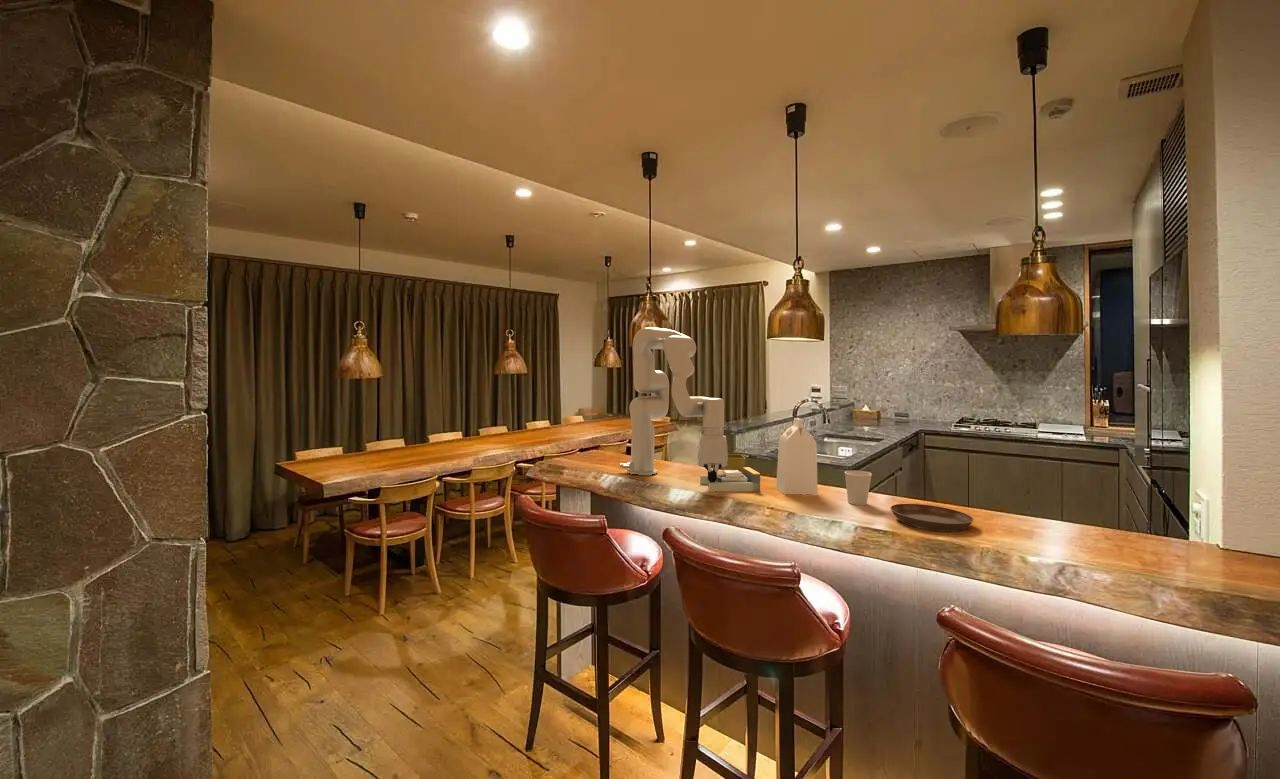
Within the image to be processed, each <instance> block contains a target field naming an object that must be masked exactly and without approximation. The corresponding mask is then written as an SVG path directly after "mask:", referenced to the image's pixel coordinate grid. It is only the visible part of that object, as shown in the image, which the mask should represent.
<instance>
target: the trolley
mask: <svg viewBox="0 0 1280 779" xmlns="http://www.w3.org/2000/svg"><path fill="white" fill-rule="evenodd" d="M715 481H716V482H747V477H746V476H744V475H743V474H742V473H741V472H740V471H738V470H722V473H717V480H715Z"/></svg>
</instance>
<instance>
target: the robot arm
mask: <svg viewBox="0 0 1280 779" xmlns="http://www.w3.org/2000/svg"><path fill="white" fill-rule="evenodd" d="M652 349H654V350H656V349H657V350H663V353H664V355H665V357H666V360H667V362H668V365H669V368H670V370H671V373H672V375H673V379H672V382H671V398H672V401H673V403H674V406H675V408H676V410H677V412H678V414H680V416H682V417H685V418H694V417H695V418H697V417H698V418H699V417H701V418H702V428H698V432H699V433H700V434H701V433H702V434H701V435H700V437H699V438H700V439H699V445H698V455H697V458H698V462H697V466H699V467H702V468H704V469H705V470H706V471H707V476H708V480H709V482H710V483H715V480H717V474H718V472H719V470H720V469H722V467H725V466H727V461H728V454H729V452H728V440H727V436H726V435H724V431H725V430H724V429H725V428H724V427H725V401H724V399H723V398H721V397H720V398H719V397H707V396H690V394H689V392H688V388H687V383H686V382H687V379H688V378H689V377H691V376H692V375H693V374H694V373H695V371H696V370H695V366H694V364H693V362H692V359H691V358H692V357H694V355H695V354H696V351H697V345H696V342H695V340H694V339H693V338H692V337H690V336H688V335H685V334H683V333H680V332H678V331H676V330H672V329H669V328H661V327H651V326H648V327H642V328H640V329H639V330H638V331H636V333H635V335H634V337H633V340H632V350H633V387H634V390H635V391H636V392H638V393H641V394H650V395H647V396H646V395H645V396H643V395H642V396H641V395H640V396H637V397H635V398H634V399H632V400H631V401H630V404H629V414H630V422H631V440H630V442H631V443H630V444H631V445H630V447H631V448H630V451H631V452H630V454H631V455H630V460H629V462H627V463H623V462H620V463H619V468H620V469H627V470H626V472H628V473H627V474H629V473H630V474H629V475H632V474H638V475H637V476H653V475H652V474H655V475H657V474H658V469H656V468H655V433H656V432H655V427H654V423H653V420H657V419H663V418H665V417H666V415H667V414H668V411H669V405H670V381H669V377H668V376H667V374H666V373H665V372H664V371H662V370H659V369H658V370H656V369H655V368H656V366H655V365H656V361H655V356H654V353H653V351H652ZM712 465H713V467H712ZM656 473H657V474H656Z"/></svg>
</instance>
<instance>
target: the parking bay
mask: <svg viewBox="0 0 1280 779" xmlns="http://www.w3.org/2000/svg"><path fill="white" fill-rule="evenodd" d="M743 475H744V476H746V477H747V482H716V481H715V483H710V482H709V480H708V475H700V477H699V483H700V484H702V485H708V490H707V491H708V493H714V492H715V491H717V492H761V473H760V472H758V471H756V470H755V469H753V468H752V467H749V466H747V467H746V466H745V467H743ZM715 493H716V492H715Z"/></svg>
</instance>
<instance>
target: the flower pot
mask: <svg viewBox="0 0 1280 779" xmlns="http://www.w3.org/2000/svg"><path fill="white" fill-rule="evenodd" d="M746 459H747V458H746V457H745V456H744V455H743V454H730V453H728V461H727V466H725V467H721V470H722V471H723V470H738V471H740V472H741V473H742V474H743V467H746V466H745V465H746Z"/></svg>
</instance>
